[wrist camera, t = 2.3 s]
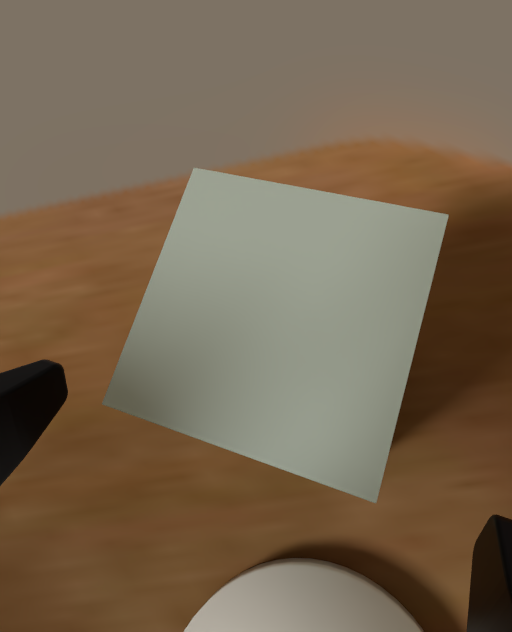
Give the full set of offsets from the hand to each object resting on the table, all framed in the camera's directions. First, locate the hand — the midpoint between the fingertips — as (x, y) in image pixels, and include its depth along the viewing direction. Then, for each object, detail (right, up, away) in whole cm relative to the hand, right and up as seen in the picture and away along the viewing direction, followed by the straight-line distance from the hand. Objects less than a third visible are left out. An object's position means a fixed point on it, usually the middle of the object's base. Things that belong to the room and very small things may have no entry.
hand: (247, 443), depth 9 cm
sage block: (+3, 0, +9) cm, 10 cm away
